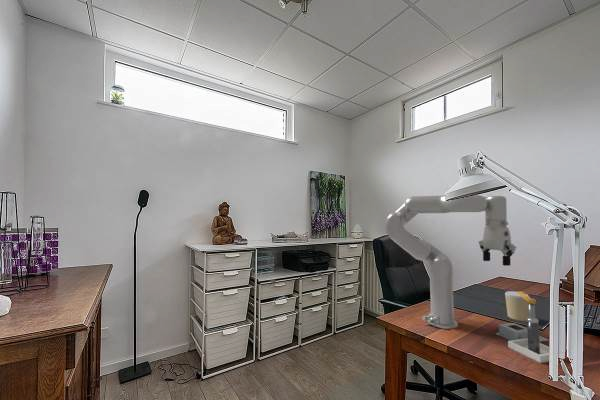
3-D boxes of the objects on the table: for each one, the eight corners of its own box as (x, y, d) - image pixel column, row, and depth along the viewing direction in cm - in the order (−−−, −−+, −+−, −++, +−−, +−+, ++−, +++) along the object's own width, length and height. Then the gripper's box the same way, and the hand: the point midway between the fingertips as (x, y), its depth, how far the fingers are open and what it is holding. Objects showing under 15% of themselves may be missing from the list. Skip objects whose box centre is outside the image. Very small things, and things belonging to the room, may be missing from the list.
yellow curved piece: (515, 294, 124) (515, 290, 124) (523, 294, 123) (523, 291, 123) (528, 303, 111) (528, 299, 111) (537, 304, 110) (537, 300, 110)
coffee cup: (518, 314, 134) (517, 290, 135) (535, 322, 125) (534, 296, 126) (501, 315, 134) (500, 291, 135) (516, 322, 125) (515, 297, 125)
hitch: (519, 346, 103) (517, 310, 104) (494, 334, 113) (493, 302, 113) (550, 341, 107) (548, 306, 107) (524, 330, 116) (522, 299, 117)
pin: (535, 355, 95) (533, 321, 96) (526, 350, 98) (524, 317, 99) (542, 353, 96) (540, 320, 96) (532, 349, 99) (531, 316, 100)
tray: (540, 364, 90) (540, 356, 91) (508, 348, 101) (508, 341, 101) (562, 360, 93) (561, 352, 93) (528, 345, 103) (528, 338, 104)
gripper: (522, 225, 109) (523, 267, 108) (486, 223, 126) (486, 259, 125) (506, 225, 108) (507, 267, 107) (472, 222, 125) (472, 259, 124)
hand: (496, 263), depth 116 cm, fingers open, 9 cm apart
